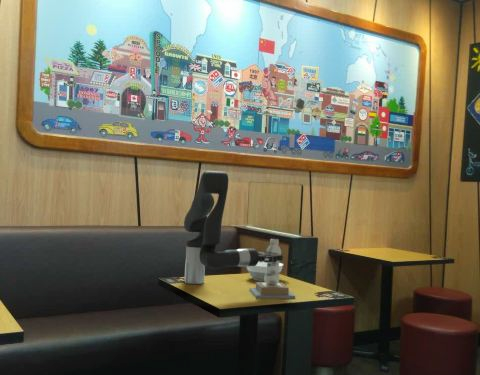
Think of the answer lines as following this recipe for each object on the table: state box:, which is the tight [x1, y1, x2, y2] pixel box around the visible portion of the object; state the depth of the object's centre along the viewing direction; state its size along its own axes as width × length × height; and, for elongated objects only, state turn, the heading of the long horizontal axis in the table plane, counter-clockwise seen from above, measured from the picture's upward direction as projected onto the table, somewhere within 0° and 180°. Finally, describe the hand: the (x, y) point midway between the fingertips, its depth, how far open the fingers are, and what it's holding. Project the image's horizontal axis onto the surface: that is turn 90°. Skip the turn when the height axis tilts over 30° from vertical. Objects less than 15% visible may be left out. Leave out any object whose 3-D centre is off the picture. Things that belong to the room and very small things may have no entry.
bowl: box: [245, 261, 284, 282], centre depth 259 cm, size 19×19×8 cm
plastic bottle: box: [264, 238, 282, 285], centre depth 224 cm, size 6×7×20 cm
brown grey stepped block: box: [248, 281, 296, 300], centre depth 224 cm, size 17×16×4 cm
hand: (276, 256), depth 225 cm, fingers open, 8 cm apart
